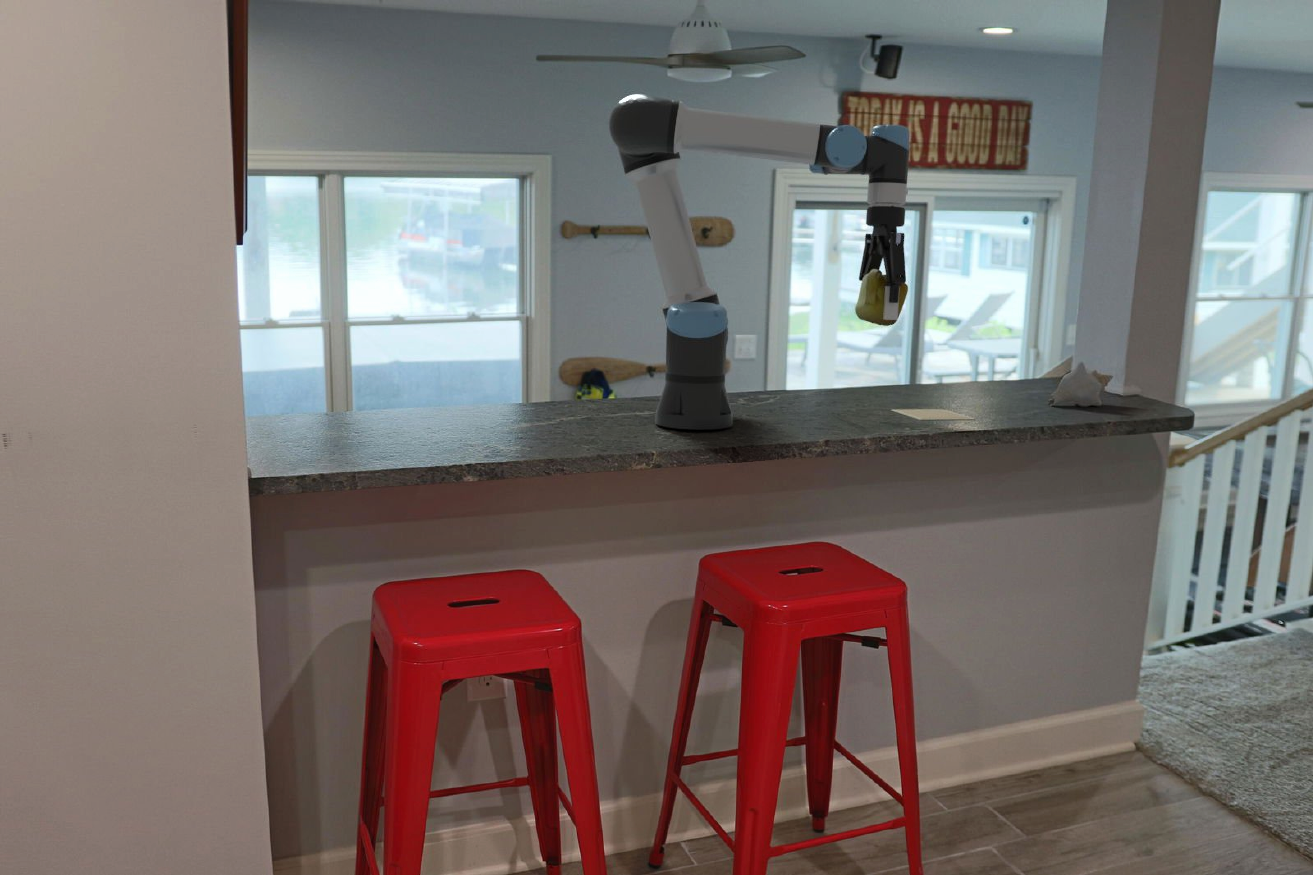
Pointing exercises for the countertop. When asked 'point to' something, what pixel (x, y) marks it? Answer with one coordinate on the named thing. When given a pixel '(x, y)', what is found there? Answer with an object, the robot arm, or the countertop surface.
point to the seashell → (1081, 387)
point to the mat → (933, 414)
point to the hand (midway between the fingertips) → (879, 318)
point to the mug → (876, 298)
